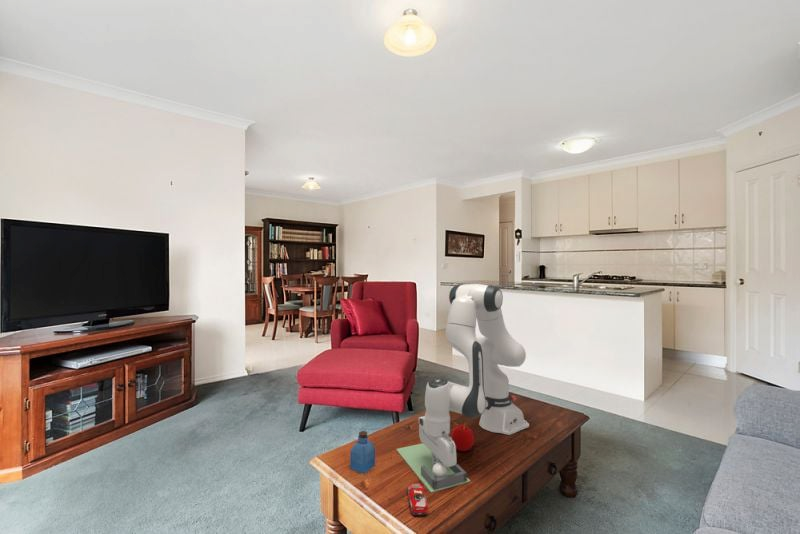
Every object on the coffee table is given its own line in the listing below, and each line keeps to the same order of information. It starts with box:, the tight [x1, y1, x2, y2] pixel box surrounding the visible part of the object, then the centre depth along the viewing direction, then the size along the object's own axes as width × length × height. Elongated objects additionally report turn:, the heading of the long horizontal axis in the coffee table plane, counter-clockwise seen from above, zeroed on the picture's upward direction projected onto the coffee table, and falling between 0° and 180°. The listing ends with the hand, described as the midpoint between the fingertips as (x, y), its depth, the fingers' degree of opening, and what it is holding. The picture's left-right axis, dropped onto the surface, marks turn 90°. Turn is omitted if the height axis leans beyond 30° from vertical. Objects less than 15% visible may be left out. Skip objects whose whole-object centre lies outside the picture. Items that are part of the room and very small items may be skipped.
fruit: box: [450, 423, 475, 452], centre depth 138 cm, size 9×9×10 cm
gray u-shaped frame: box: [421, 463, 468, 490], centre depth 118 cm, size 12×9×3 cm
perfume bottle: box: [349, 430, 376, 475], centre depth 124 cm, size 6×6×12 cm
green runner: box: [395, 442, 471, 494], centre depth 126 cm, size 15×28×1 cm, turn 24°
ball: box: [432, 463, 447, 479], centre depth 117 cm, size 5×5×5 cm
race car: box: [406, 482, 429, 517], centre depth 106 cm, size 13×5×4 cm, turn 3°
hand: (436, 465), depth 122 cm, fingers closed
